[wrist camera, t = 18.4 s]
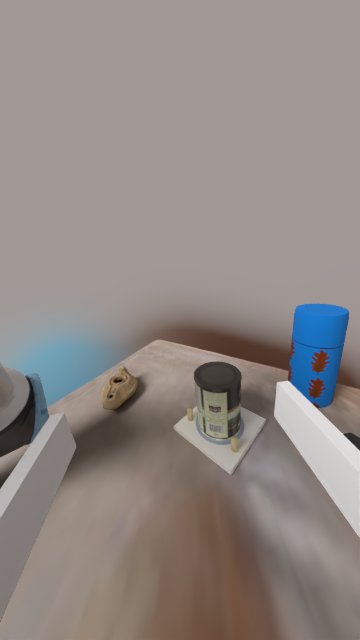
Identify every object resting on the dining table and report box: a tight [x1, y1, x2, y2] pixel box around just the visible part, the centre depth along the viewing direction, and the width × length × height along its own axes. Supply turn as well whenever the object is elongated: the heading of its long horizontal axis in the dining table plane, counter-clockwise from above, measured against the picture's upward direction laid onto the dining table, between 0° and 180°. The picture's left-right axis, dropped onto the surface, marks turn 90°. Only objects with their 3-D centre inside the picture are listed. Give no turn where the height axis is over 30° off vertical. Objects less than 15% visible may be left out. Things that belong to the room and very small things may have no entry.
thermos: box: [288, 304, 349, 408], centre depth 51 cm, size 11×11×25 cm
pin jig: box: [174, 406, 266, 475], centre depth 47 cm, size 16×16×4 cm
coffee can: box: [194, 362, 241, 441], centre depth 45 cm, size 10×10×14 cm
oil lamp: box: [101, 366, 137, 410], centre depth 60 cm, size 11×15×8 cm
